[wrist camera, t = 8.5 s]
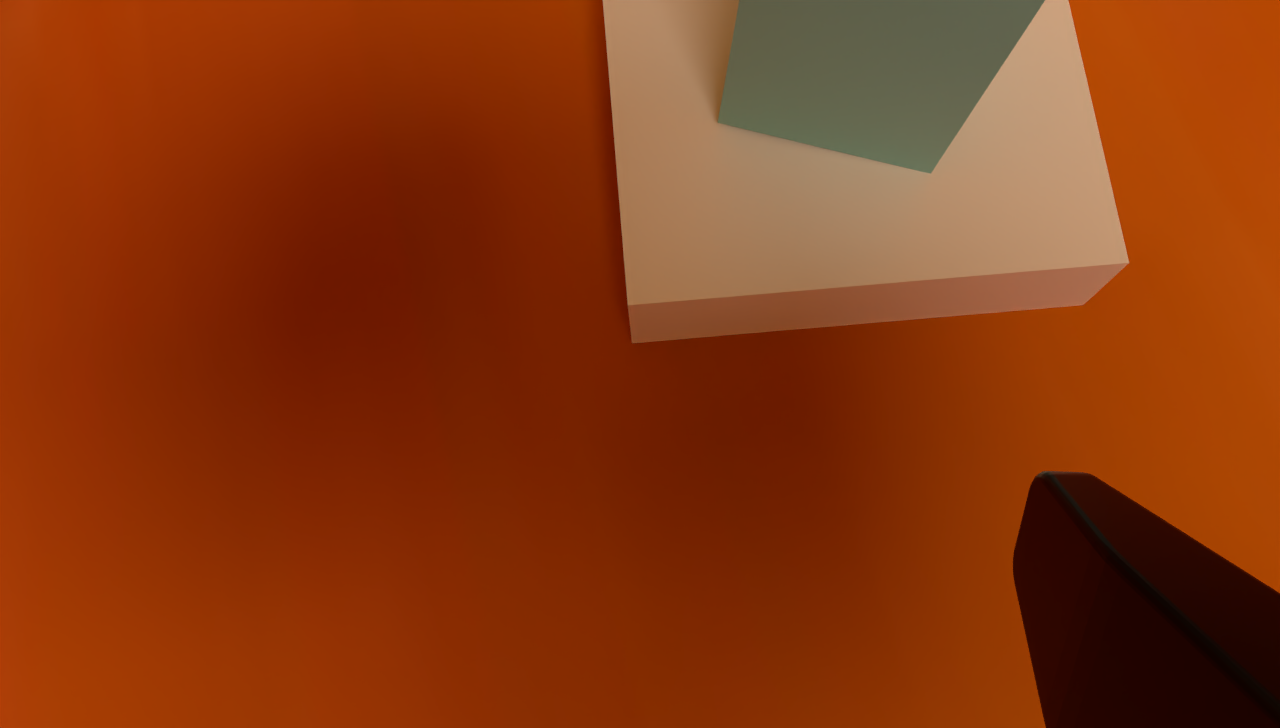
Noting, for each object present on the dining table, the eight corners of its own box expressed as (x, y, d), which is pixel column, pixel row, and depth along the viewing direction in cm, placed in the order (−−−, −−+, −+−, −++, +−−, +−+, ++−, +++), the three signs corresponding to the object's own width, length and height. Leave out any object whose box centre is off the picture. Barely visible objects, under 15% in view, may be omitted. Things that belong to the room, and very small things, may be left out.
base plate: (1073, 313, 24) (1129, 262, 21) (632, 350, 24) (627, 305, 21) (995, -58, 27) (1034, -146, 24) (601, -24, 27) (593, -109, 24)
